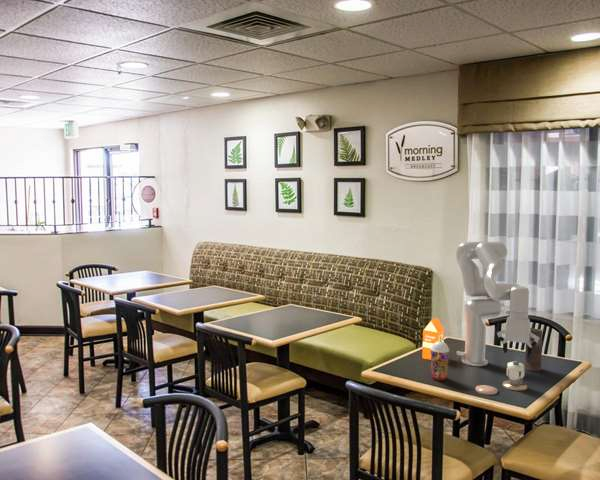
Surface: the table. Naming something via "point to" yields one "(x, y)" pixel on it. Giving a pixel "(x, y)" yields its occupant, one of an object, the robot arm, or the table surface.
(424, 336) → the orange juice
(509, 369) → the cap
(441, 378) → the smoothie
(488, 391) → the coaster
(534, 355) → the candle
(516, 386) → the beige piece
